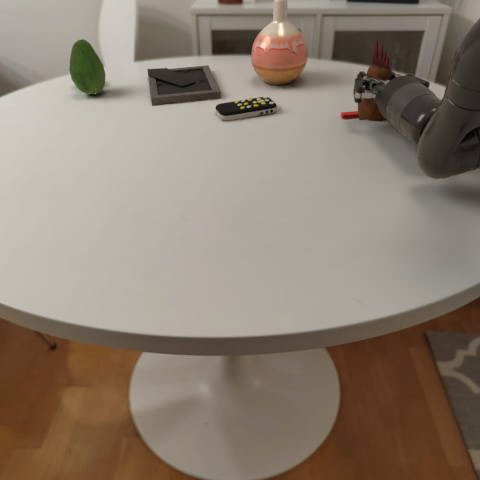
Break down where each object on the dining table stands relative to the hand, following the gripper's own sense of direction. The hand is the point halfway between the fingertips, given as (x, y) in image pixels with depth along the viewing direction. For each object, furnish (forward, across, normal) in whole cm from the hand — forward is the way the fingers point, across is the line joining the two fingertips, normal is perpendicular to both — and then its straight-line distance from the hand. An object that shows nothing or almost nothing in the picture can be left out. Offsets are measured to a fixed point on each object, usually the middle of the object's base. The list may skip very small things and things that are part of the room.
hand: (373, 75), depth 89 cm
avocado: (+29, +59, +9) cm, 66 cm away
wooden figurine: (-3, 0, +9) cm, 9 cm away
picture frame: (+29, +37, +9) cm, 48 cm away
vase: (+28, +13, +9) cm, 32 cm away
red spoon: (+2, -4, +8) cm, 10 cm away
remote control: (+9, +24, +9) cm, 27 cm away
